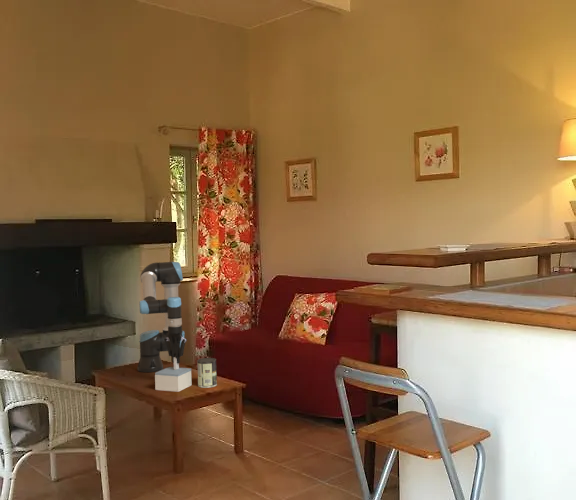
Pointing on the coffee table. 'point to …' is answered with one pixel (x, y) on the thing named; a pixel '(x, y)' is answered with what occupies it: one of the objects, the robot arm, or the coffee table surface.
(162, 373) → the lid
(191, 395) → the coffee table surface
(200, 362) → the coffee can
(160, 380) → the box
